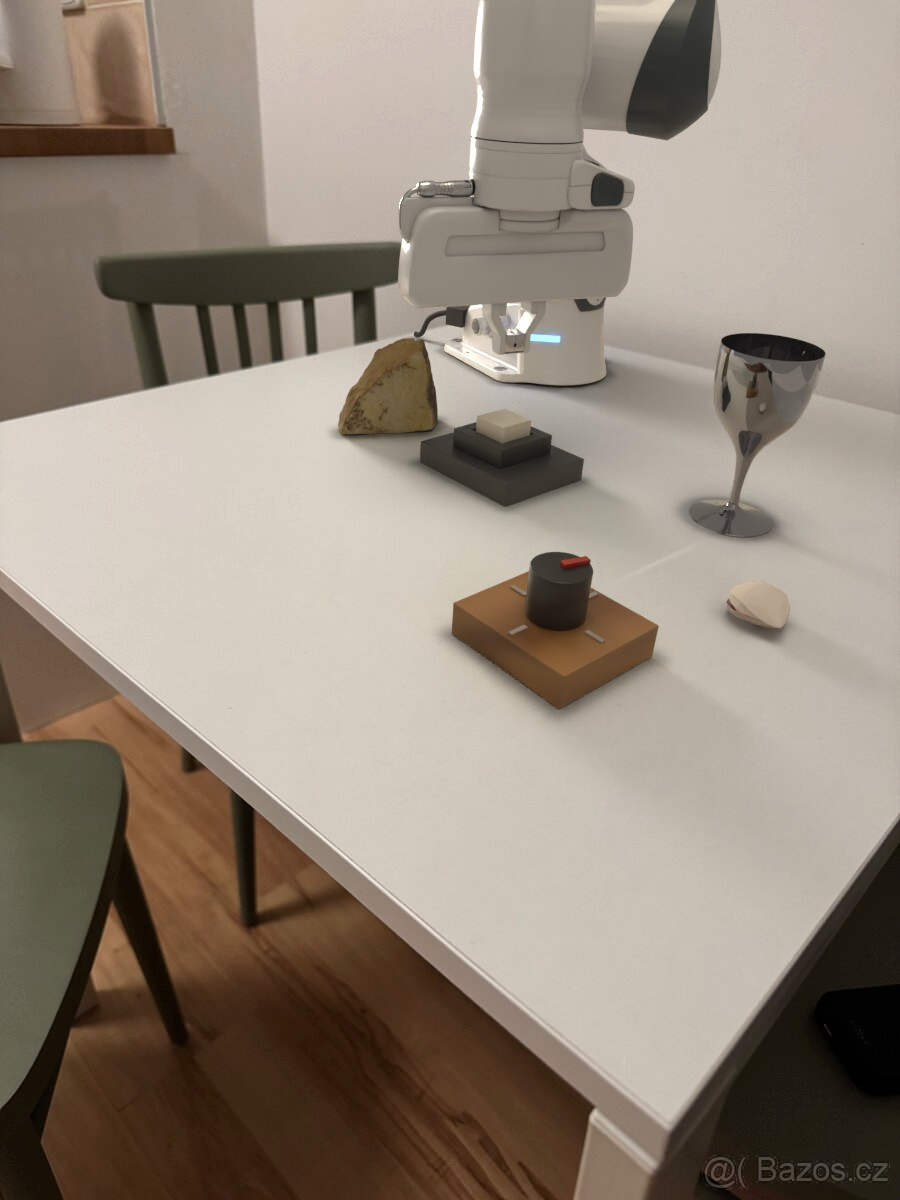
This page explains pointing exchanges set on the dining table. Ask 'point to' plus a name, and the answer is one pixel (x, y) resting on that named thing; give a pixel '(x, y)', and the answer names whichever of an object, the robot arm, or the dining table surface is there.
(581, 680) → the volume panel
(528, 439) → the button base
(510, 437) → the cream square button
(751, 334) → the wine glass
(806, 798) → the dining table surface
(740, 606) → the clam shell
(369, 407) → the rock
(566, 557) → the volume knob
